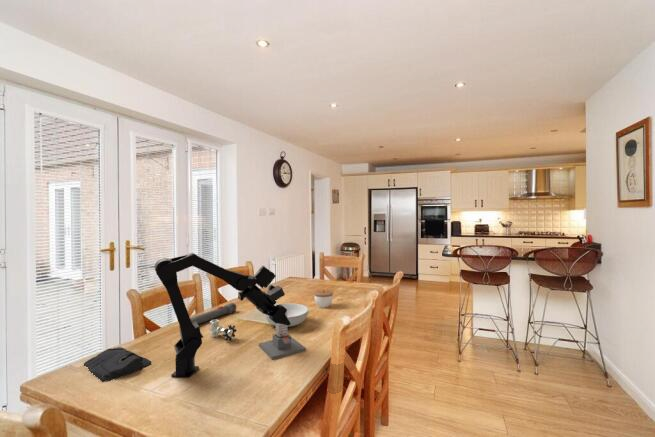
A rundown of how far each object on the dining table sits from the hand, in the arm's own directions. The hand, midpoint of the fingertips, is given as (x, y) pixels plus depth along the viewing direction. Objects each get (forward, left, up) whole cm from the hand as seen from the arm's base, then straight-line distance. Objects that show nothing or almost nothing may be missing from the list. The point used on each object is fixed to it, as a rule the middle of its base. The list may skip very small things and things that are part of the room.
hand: (284, 320), depth 125 cm
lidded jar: (+55, -10, -11) cm, 57 cm away
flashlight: (+30, +44, -11) cm, 54 cm away
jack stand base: (-1, +1, -11) cm, 11 cm away
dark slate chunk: (-19, +56, -11) cm, 60 cm away
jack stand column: (-1, +1, -6) cm, 6 cm away
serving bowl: (+26, +5, -11) cm, 29 cm away
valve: (+8, +30, -11) cm, 33 cm away
